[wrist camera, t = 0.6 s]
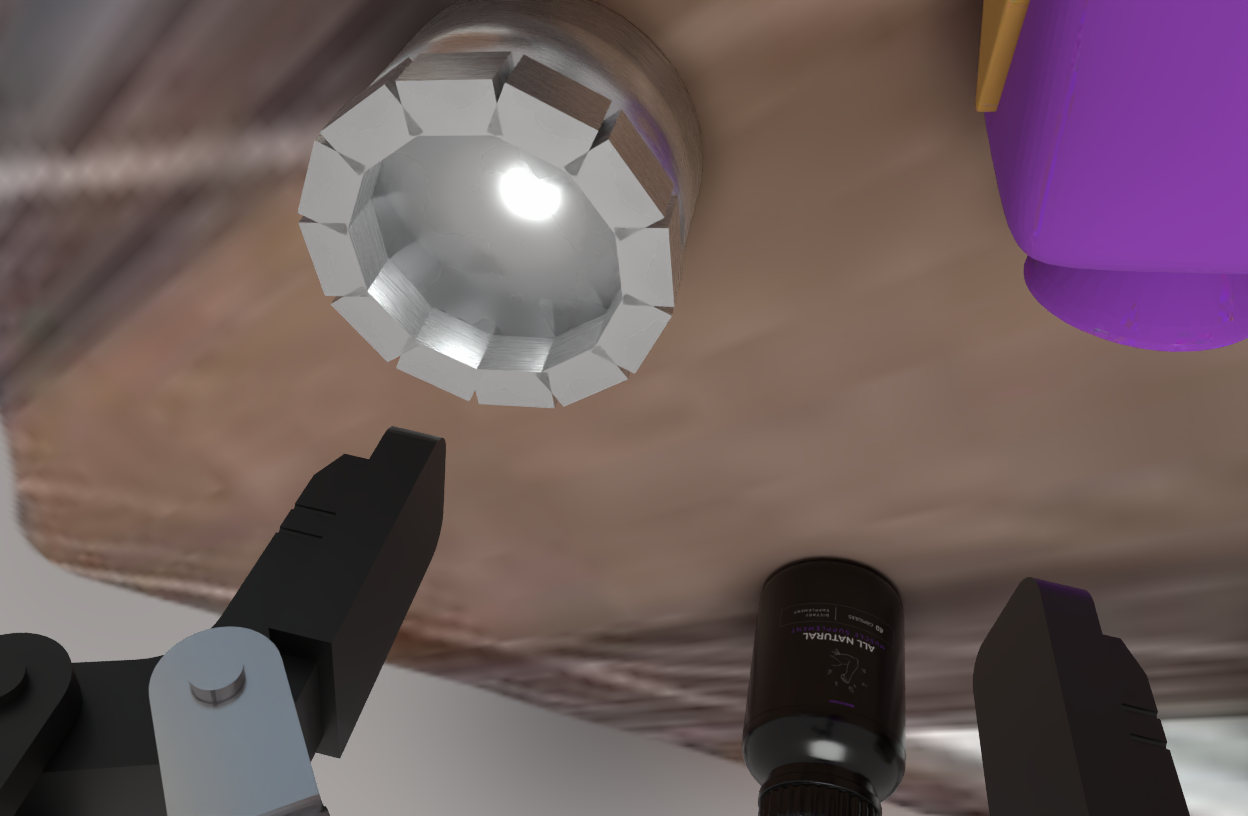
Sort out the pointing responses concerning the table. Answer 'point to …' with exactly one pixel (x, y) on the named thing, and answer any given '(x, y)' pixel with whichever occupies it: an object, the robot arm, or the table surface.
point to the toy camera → (1125, 162)
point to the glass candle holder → (510, 201)
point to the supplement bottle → (826, 692)
